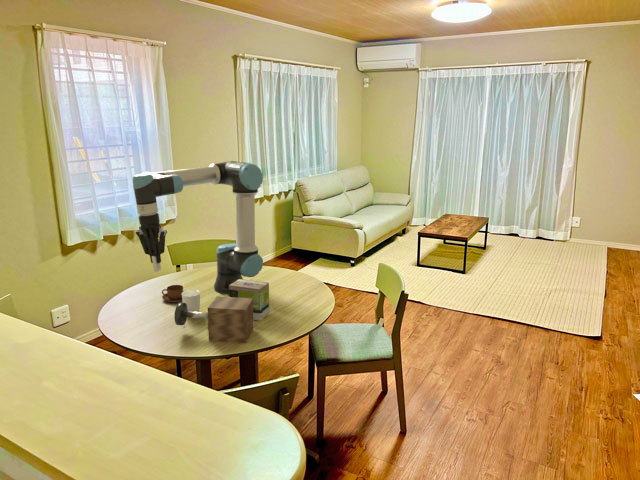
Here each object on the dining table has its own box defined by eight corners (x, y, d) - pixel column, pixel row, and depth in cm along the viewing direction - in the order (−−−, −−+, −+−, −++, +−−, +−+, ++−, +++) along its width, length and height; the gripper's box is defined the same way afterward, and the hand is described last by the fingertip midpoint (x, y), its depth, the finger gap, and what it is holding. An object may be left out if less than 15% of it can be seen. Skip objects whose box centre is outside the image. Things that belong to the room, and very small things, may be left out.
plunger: (175, 328, 189) (173, 307, 187) (183, 319, 198) (182, 299, 195) (214, 331, 188) (214, 310, 185) (221, 321, 196) (220, 301, 194)
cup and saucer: (164, 305, 220) (163, 293, 219) (161, 296, 231) (160, 284, 229) (190, 302, 225) (190, 290, 223) (186, 293, 236) (185, 281, 234)
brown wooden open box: (208, 340, 187) (207, 307, 184) (217, 327, 199) (216, 296, 195) (246, 343, 186) (245, 310, 182) (253, 330, 198) (252, 298, 194)
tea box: (269, 313, 215) (269, 282, 211) (259, 321, 206) (259, 289, 202) (240, 308, 220) (239, 277, 216) (229, 316, 210) (228, 284, 207)
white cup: (196, 318, 207) (195, 297, 205) (179, 316, 209) (178, 295, 206) (204, 311, 215) (203, 290, 212) (187, 309, 216) (186, 289, 214)
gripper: (128, 216, 186) (138, 273, 192) (157, 215, 183) (166, 274, 189) (139, 211, 193) (148, 267, 199) (168, 211, 190) (176, 267, 196)
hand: (157, 270), depth 194 cm, fingers closed
